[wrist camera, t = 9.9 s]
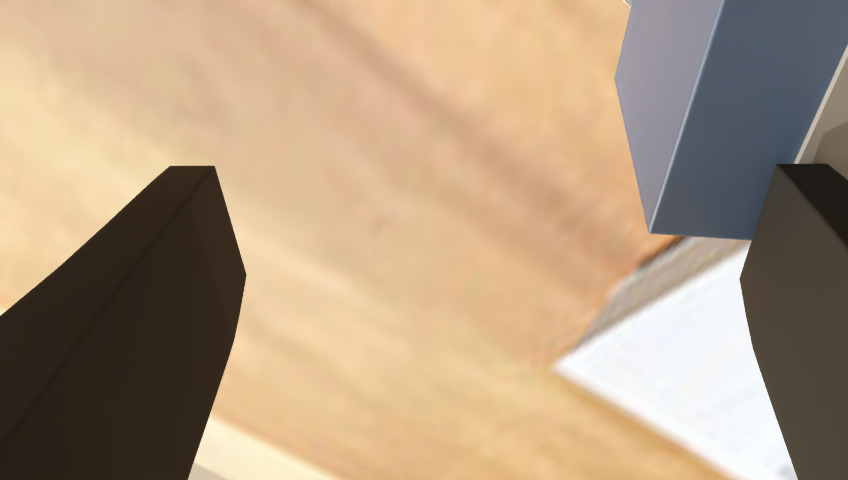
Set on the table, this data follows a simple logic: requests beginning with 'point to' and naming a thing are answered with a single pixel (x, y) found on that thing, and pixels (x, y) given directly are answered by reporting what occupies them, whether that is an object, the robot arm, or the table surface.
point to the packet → (729, 105)
